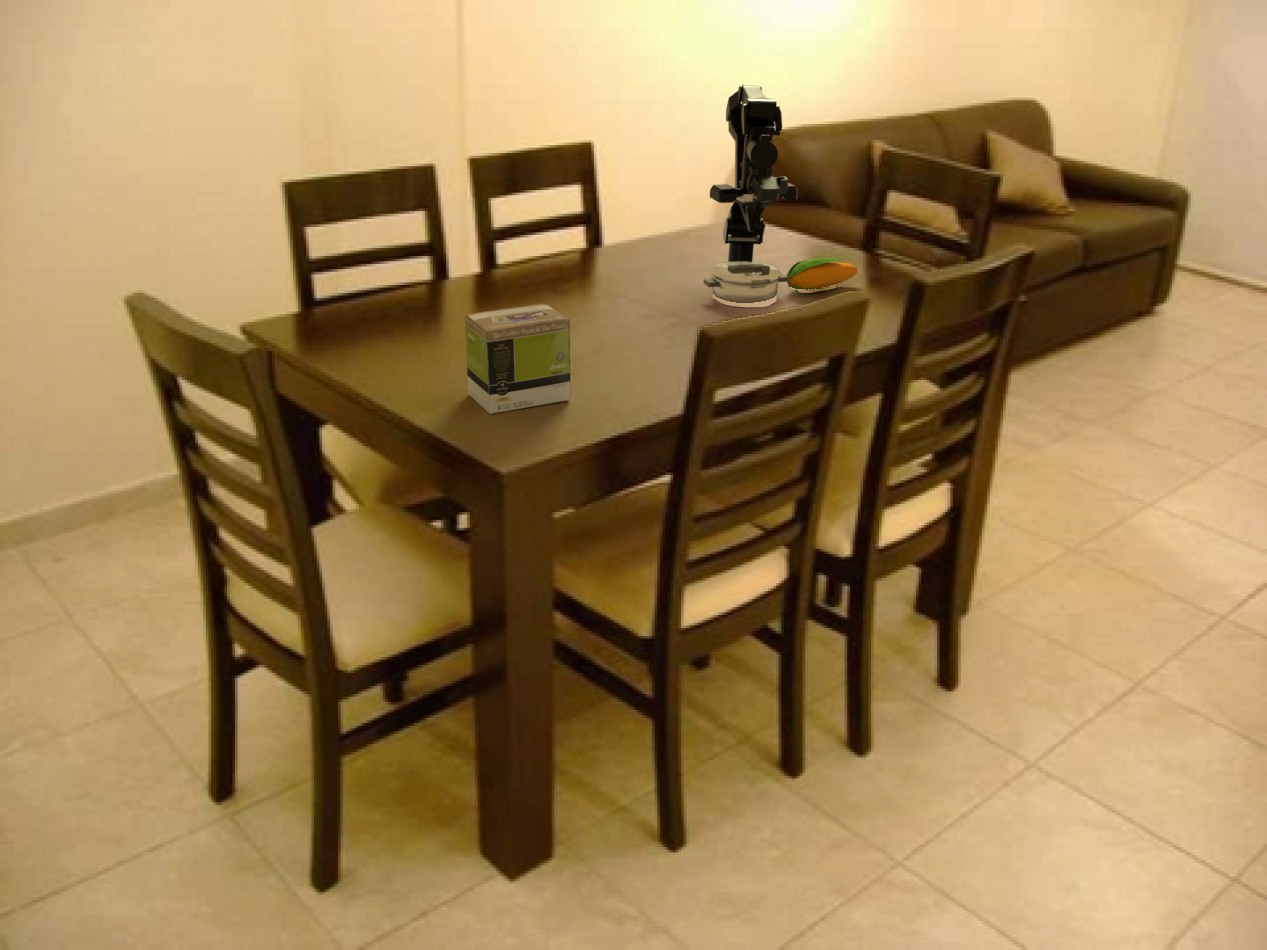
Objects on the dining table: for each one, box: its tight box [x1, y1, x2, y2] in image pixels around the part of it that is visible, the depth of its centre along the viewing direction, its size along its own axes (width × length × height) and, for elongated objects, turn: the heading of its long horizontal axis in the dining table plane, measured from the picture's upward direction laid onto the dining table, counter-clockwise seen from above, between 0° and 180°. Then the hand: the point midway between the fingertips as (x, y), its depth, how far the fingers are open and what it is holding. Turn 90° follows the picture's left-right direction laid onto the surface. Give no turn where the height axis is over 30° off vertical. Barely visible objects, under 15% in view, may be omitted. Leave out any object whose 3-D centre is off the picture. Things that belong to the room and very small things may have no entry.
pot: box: [703, 273, 788, 303], centre depth 258 cm, size 14×18×5 cm
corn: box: [785, 256, 858, 290], centre depth 266 cm, size 7×8×20 cm
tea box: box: [464, 303, 572, 414], centre depth 200 cm, size 15×10×15 cm, turn 118°
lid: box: [711, 261, 782, 285], centre depth 256 cm, size 15×15×3 cm
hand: (750, 231), depth 264 cm, fingers closed
